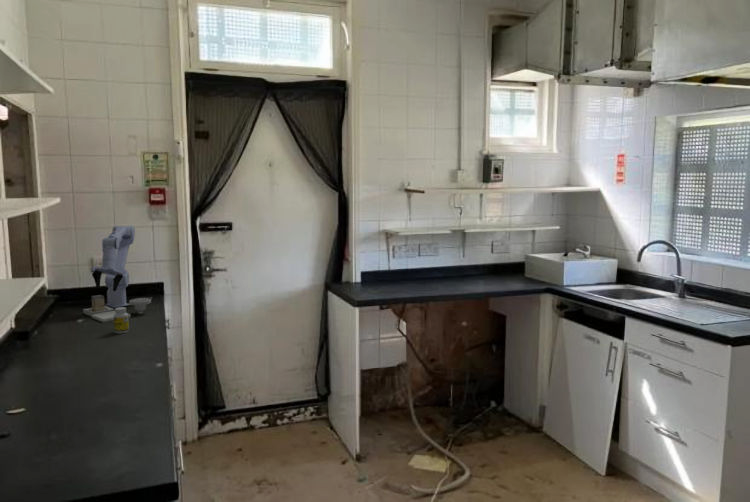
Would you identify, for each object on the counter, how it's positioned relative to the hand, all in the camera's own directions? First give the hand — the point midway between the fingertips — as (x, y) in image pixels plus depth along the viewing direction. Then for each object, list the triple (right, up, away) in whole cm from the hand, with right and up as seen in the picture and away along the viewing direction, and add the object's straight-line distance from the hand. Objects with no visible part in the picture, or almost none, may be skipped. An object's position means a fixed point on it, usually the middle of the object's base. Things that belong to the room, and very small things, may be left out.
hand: (106, 289), depth 258 cm
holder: (-5, -11, +4) cm, 13 cm away
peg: (-5, -11, +4) cm, 13 cm away
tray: (+5, -13, -5) cm, 14 cm away
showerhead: (+15, -12, +3) cm, 19 cm away
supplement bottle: (+20, -16, -28) cm, 37 cm away
